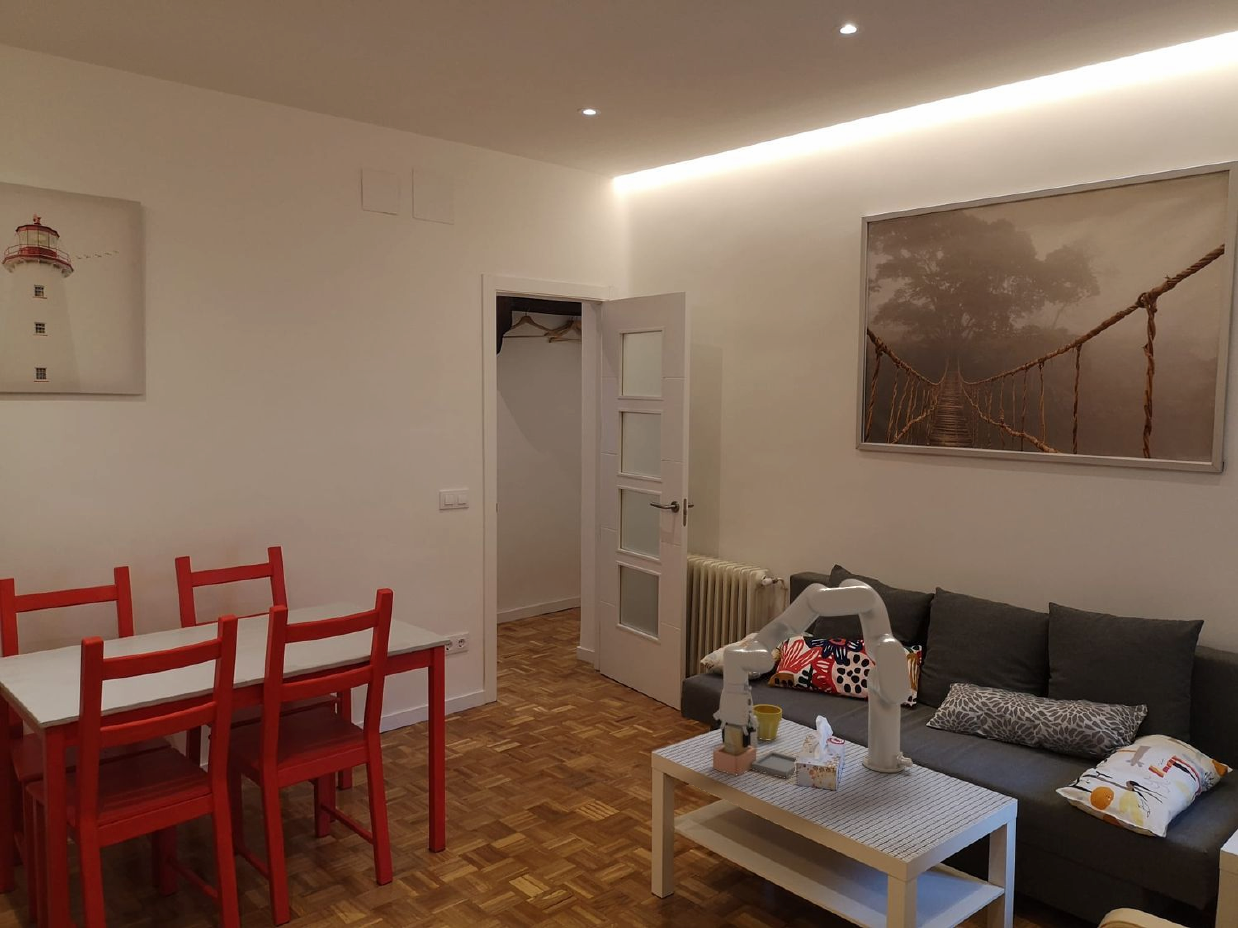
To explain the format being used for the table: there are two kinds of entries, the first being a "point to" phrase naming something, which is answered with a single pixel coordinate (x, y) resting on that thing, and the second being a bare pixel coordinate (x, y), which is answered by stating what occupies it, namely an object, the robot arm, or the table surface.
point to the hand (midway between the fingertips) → (736, 743)
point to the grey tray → (775, 764)
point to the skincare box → (734, 740)
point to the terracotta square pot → (733, 760)
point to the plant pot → (767, 720)
